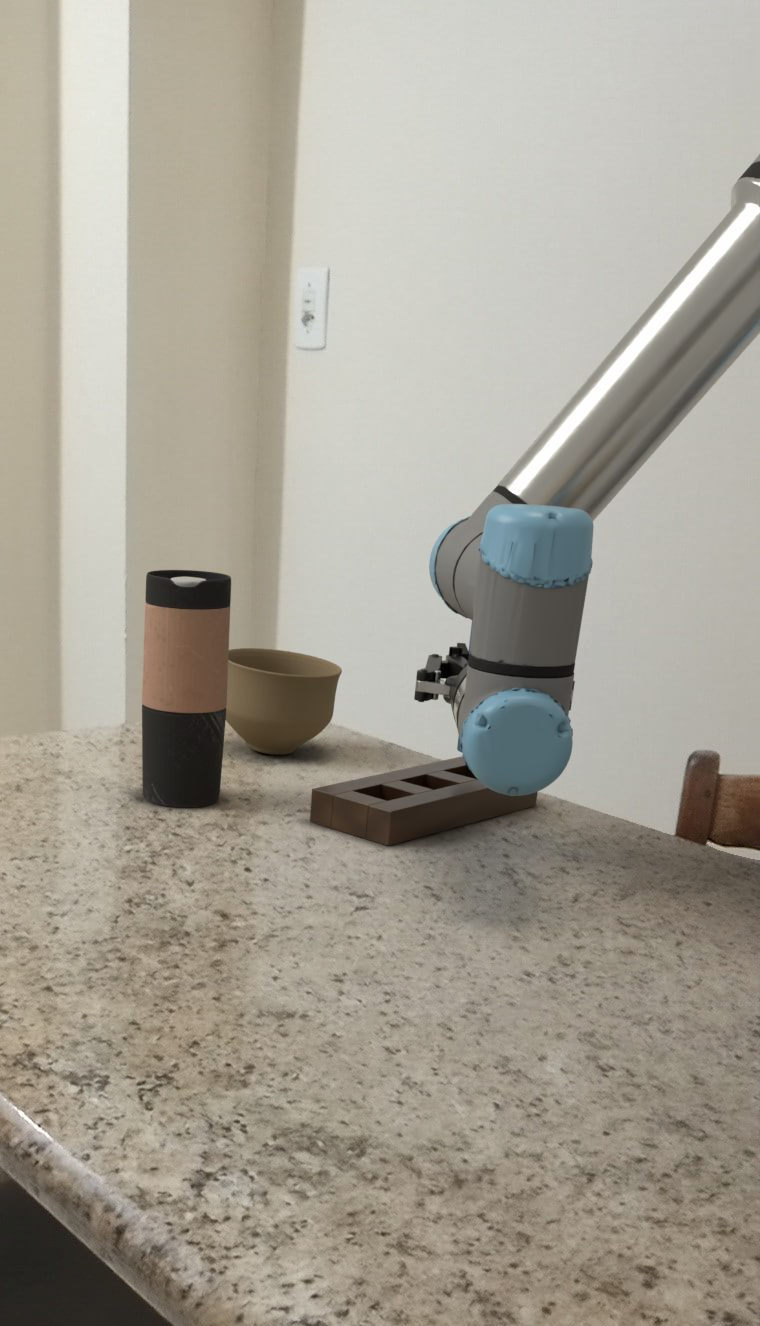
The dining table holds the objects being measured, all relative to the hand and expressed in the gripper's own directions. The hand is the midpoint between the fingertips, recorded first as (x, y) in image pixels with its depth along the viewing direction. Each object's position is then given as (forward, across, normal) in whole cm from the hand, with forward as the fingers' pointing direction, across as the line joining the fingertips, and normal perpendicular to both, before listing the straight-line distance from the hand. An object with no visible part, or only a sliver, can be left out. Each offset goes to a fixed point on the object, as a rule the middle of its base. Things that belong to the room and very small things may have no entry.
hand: (480, 658), depth 131 cm
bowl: (+10, -19, -13) cm, 25 cm away
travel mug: (-11, -27, -13) cm, 32 cm away
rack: (-10, -4, -13) cm, 17 cm away
